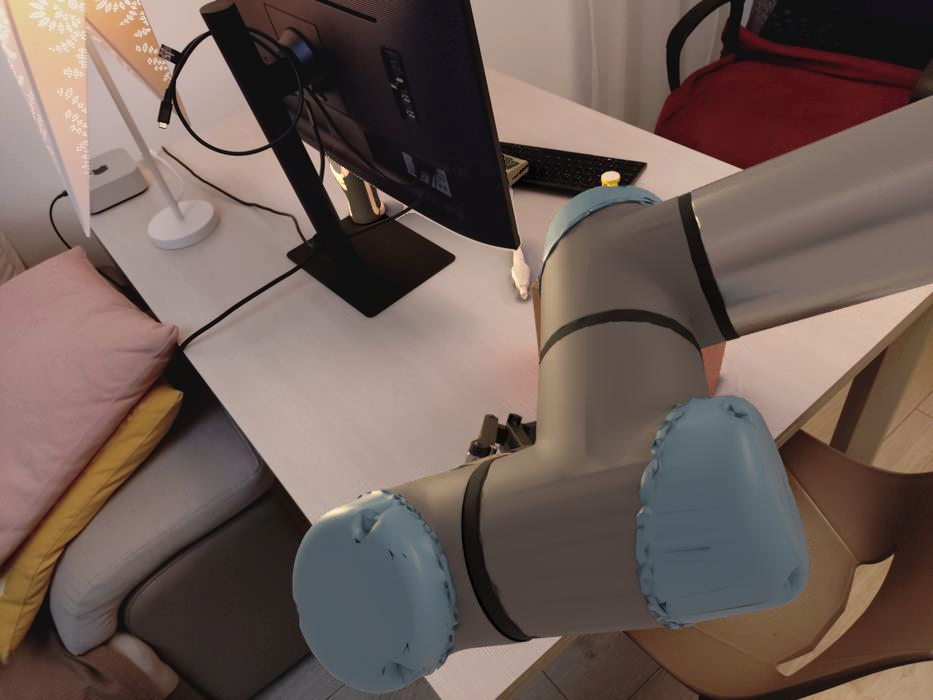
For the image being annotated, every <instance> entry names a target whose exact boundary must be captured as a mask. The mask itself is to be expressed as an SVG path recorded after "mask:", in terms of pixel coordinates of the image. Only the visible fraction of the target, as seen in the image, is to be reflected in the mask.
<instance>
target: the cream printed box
mask: <svg viewBox="0 0 933 700" xmlns="http://www.w3.org/2000/svg"><path fill="white" fill-rule="evenodd" d="M502 154H503V155H504V160H505V165H506V172H507V177H508V181H509V186H510V187H511V186H512V185H513V184H515V183H516V182H517V181H518V180H519V179H520V178H521V177H523V176H524V175H525V174H526V173H528V172H529V166H528V167H527V168H526V169H525V170H524V171H523V172H522V173H521V174H519V175H518V176H517V177H516V178H515V179H513V180H512V178H513V177H514V176H516V175H517V173H519V172H520V170H522V168H524V167H525V166H526V165H527V164H529V161H527V160H524V159H520V158H518V157H514V156H511V155H507V154H504V153H502Z"/></svg>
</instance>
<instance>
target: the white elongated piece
mask: <svg viewBox="0 0 933 700" xmlns="http://www.w3.org/2000/svg"><path fill="white" fill-rule="evenodd" d="M512 252H513V254H512V255H513V256H512V257H513V258H512V259H513V266H512V267H511V270H510V271H511V277H512V279H513V281H514V283H515V287H516V288H517V290H519V295H520V298H521V299H522V300H523V301H526V300H527V298H528V288H529V286H530V277H531V270H530V266H529V265H528V264H527V263H526V262H525V261H526V260H525V256H524V254H523V251H522V248H521V246H520V247H519V249H518V250H516V251H514V250H513V251H512Z"/></svg>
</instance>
